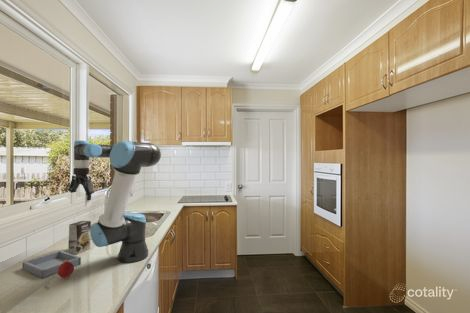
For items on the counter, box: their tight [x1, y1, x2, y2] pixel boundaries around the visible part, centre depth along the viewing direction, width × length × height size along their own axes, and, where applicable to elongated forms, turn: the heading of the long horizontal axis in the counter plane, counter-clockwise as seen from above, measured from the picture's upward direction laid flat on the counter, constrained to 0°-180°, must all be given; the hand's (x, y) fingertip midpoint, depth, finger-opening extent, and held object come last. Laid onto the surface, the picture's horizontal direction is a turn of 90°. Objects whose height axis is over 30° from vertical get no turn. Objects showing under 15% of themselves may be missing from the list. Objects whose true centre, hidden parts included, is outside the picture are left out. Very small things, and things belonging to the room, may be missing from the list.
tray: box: [22, 250, 82, 280], centre depth 114 cm, size 18×16×4 cm
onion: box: [57, 260, 75, 279], centre depth 104 cm, size 6×6×8 cm
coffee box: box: [67, 220, 92, 255], centre depth 134 cm, size 9×6×16 cm
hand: (80, 204), depth 135 cm, fingers open, 13 cm apart
